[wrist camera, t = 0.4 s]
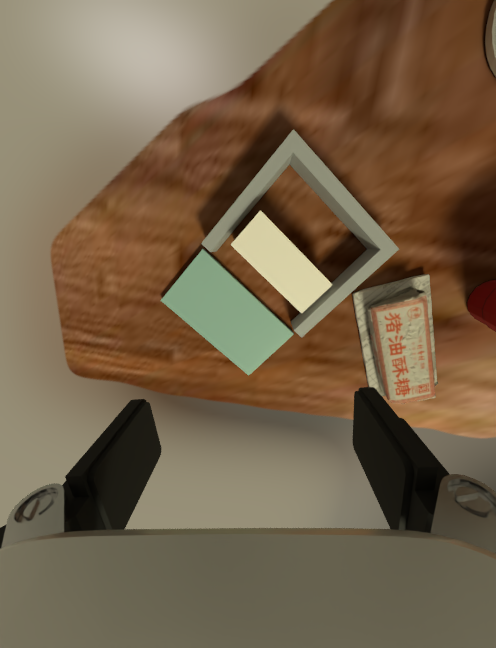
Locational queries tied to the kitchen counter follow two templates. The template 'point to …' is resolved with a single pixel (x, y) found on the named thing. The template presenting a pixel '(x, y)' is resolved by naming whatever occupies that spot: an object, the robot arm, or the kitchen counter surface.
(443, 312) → the kitchen counter surface
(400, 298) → the packaged product
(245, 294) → the pad
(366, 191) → the kitchen counter surface
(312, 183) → the frame
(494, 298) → the plastic cup
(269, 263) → the carton
